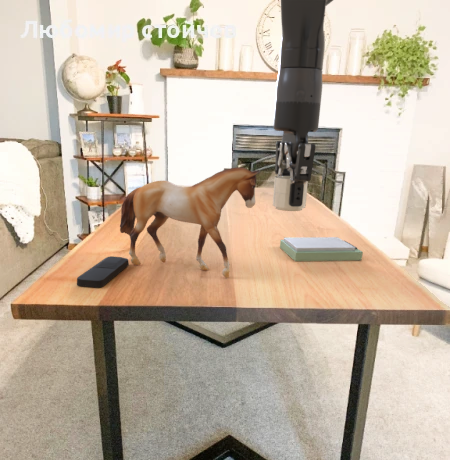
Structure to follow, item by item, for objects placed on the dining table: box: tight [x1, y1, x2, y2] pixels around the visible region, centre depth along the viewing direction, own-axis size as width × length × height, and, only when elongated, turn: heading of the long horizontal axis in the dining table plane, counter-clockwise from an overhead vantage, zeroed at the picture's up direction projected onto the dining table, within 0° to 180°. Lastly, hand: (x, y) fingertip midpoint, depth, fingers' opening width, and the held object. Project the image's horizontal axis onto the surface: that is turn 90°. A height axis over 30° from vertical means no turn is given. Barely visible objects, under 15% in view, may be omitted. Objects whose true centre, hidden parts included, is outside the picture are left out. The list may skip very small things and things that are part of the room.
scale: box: [279, 236, 364, 262], centre depth 105 cm, size 16×12×3 cm
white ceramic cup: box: [272, 175, 309, 212], centre depth 79 cm, size 6×6×6 cm
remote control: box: [76, 255, 130, 289], centre depth 85 cm, size 5×2×15 cm
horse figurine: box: [119, 166, 261, 279], centre depth 87 cm, size 31×8×21 cm, turn 69°
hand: (289, 202), depth 79 cm, fingers closed on white ceramic cup, 6 cm apart
